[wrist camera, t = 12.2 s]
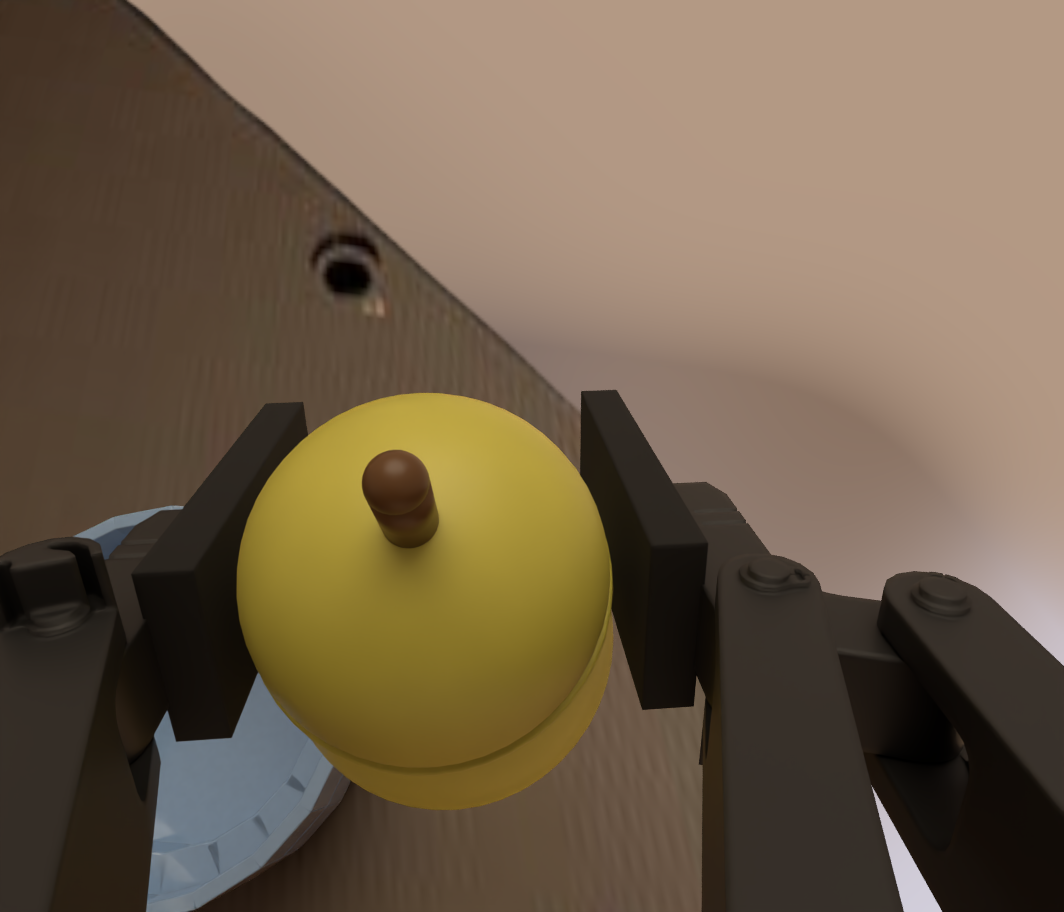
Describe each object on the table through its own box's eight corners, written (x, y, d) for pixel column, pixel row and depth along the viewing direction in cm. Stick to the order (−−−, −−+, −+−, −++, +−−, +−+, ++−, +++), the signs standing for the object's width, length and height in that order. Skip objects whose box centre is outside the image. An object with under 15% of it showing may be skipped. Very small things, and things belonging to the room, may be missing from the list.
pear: (270, 666, 17) (-171, 497, 6) (454, 479, 19) (393, 82, 8) (466, 865, 16) (390, 1148, 5) (643, 641, 18) (900, 445, 7)
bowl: (-33, 722, 28) (-148, 716, 23) (229, 487, 32) (180, 438, 27) (186, 980, 26) (111, 1037, 21) (442, 688, 30) (432, 675, 25)
